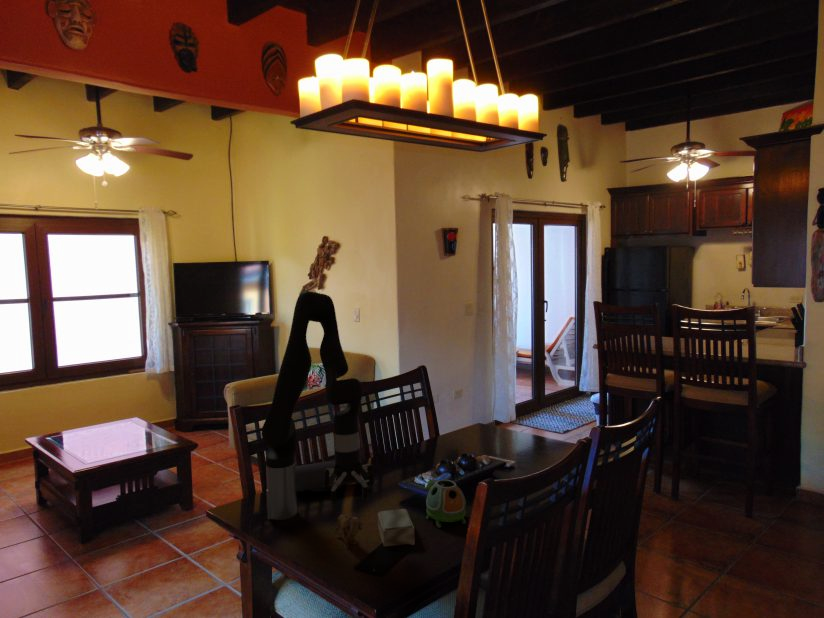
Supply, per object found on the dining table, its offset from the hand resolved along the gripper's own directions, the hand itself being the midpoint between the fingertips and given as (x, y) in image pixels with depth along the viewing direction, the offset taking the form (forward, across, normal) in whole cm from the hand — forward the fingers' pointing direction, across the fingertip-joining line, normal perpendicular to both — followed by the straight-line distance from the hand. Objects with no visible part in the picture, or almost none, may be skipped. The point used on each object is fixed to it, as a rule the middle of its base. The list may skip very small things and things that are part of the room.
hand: (349, 500), depth 172 cm
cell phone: (+13, +8, -12) cm, 19 cm away
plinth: (+12, +13, 0) cm, 18 cm away
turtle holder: (+13, +30, +8) cm, 34 cm away
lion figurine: (+12, -1, 0) cm, 13 cm away
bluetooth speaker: (+12, -5, +43) cm, 45 cm away
